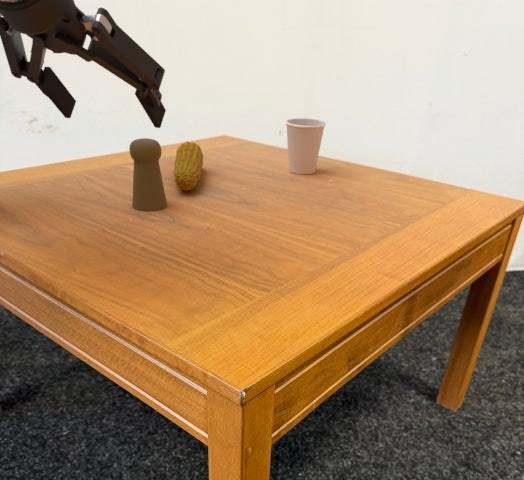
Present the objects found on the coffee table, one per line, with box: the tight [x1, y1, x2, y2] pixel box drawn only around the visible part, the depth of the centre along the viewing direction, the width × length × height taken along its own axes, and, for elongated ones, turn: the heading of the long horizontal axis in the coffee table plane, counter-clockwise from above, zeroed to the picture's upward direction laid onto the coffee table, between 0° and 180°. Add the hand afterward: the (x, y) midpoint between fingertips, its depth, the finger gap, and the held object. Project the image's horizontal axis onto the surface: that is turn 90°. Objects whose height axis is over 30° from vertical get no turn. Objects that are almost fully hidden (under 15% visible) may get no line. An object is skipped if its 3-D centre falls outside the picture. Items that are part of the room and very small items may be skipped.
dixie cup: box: [284, 117, 327, 175], centre depth 116 cm, size 8×8×10 cm
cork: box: [128, 137, 168, 212], centre depth 93 cm, size 6×6×11 cm
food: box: [173, 141, 204, 191], centre depth 108 cm, size 21×6×6 cm, turn 5°
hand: (114, 114), depth 74 cm, fingers open, 13 cm apart
